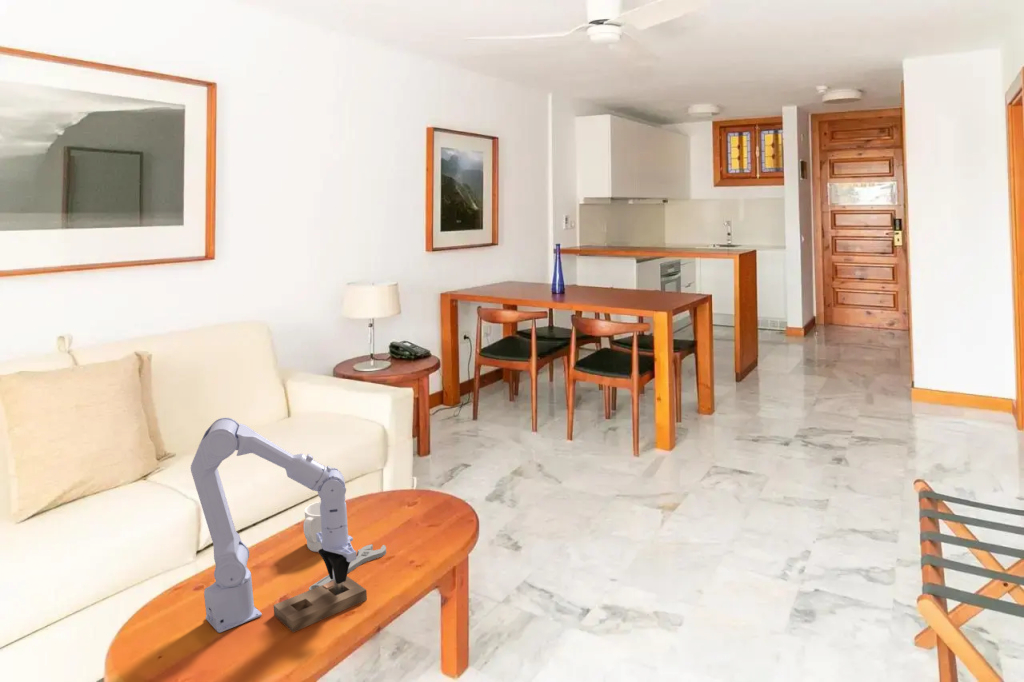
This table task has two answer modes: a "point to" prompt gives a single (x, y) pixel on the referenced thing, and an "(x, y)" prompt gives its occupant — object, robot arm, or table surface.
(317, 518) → the mug
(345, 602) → the dock board
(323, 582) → the adjustable wrench
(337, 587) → the steel pin
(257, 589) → the table surface
